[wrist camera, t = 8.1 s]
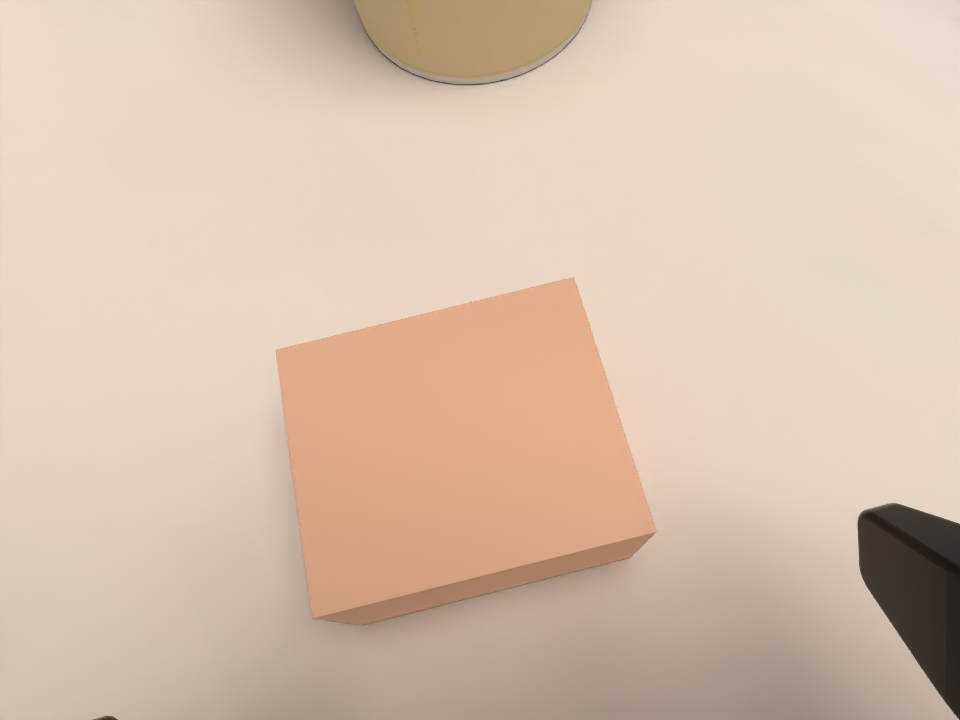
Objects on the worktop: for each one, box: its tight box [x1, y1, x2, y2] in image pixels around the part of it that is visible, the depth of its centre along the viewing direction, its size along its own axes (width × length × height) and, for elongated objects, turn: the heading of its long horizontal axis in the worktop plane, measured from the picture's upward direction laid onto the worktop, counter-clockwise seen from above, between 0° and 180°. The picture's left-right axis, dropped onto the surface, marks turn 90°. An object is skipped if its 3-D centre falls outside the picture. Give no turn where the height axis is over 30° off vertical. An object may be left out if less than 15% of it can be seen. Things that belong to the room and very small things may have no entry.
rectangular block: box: [276, 277, 656, 625], centre depth 16 cm, size 5×6×4 cm
